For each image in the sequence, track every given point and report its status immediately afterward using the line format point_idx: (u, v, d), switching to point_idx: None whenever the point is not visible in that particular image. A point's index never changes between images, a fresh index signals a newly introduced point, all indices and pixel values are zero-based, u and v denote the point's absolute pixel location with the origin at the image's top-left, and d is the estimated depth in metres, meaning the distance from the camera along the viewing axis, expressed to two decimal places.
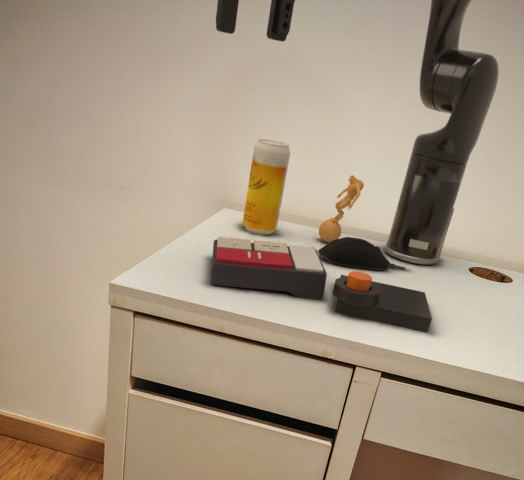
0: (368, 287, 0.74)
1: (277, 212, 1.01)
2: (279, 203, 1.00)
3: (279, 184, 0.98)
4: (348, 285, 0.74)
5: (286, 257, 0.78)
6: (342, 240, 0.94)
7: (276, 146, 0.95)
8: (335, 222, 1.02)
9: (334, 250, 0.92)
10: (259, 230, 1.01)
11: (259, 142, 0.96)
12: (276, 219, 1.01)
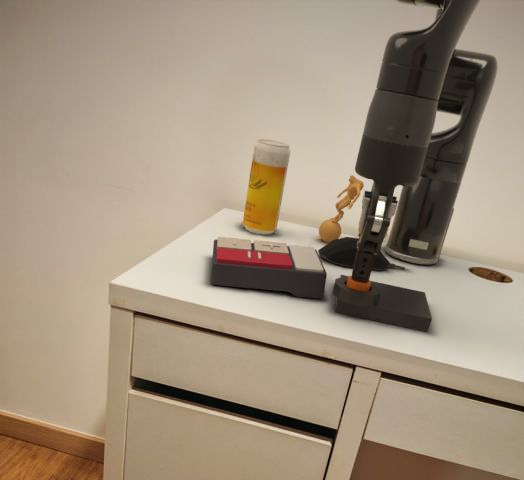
0: None
1: (277, 212, 1.01)
2: (279, 203, 1.00)
3: (279, 184, 0.98)
4: None
5: (286, 257, 0.78)
6: (342, 240, 0.94)
7: (276, 146, 0.95)
8: (335, 222, 1.02)
9: (334, 250, 0.92)
10: (259, 230, 1.01)
11: (259, 142, 0.96)
12: (276, 219, 1.01)
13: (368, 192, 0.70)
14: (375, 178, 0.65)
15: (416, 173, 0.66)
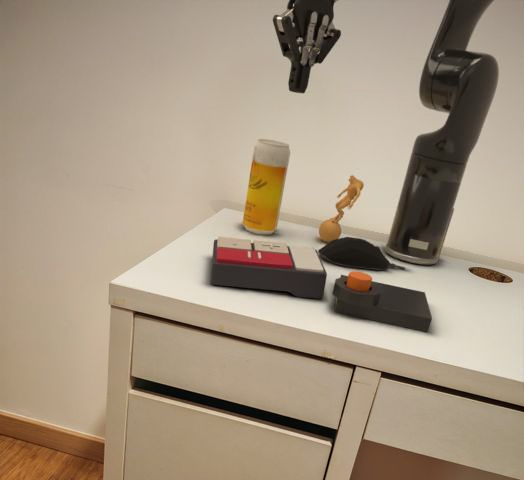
0: (368, 287, 0.74)
1: (277, 212, 1.01)
2: (279, 203, 1.00)
3: (279, 184, 0.98)
4: (348, 285, 0.74)
5: (286, 257, 0.78)
6: (342, 240, 0.94)
7: (276, 146, 0.95)
8: (335, 222, 1.02)
9: (334, 250, 0.92)
10: (259, 230, 1.01)
11: (259, 142, 0.96)
12: (276, 219, 1.01)
13: None
14: None
15: None
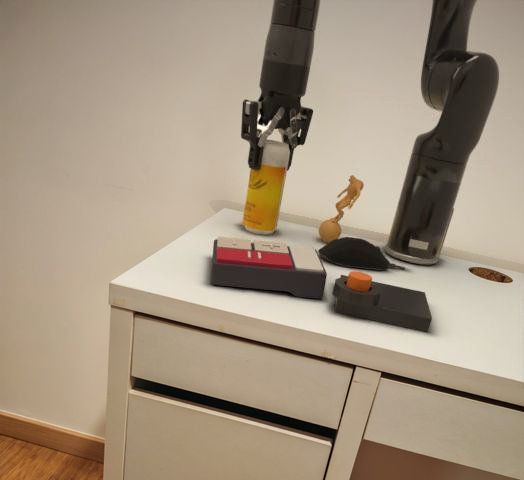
0: (368, 287, 0.74)
1: (277, 212, 1.01)
2: (279, 203, 1.00)
3: (279, 184, 0.98)
4: (348, 285, 0.74)
5: (286, 257, 0.78)
6: (342, 240, 0.94)
7: (276, 146, 0.95)
8: (335, 222, 1.02)
9: (334, 250, 0.92)
10: (259, 230, 1.01)
11: None
12: (276, 219, 1.01)
13: None
14: (260, 87, 0.92)
15: (286, 83, 0.90)
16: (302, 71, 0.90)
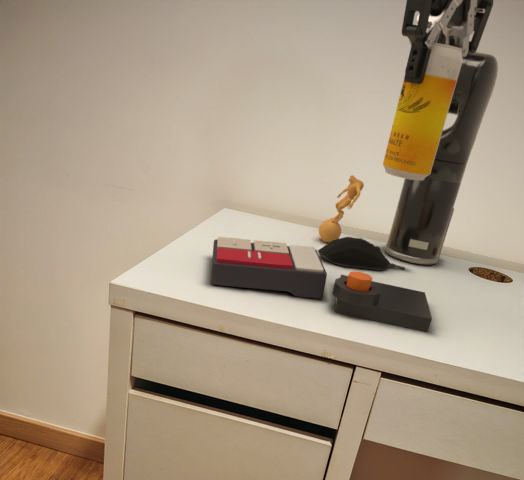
0: (368, 287, 0.74)
1: (436, 148, 0.72)
2: (440, 135, 0.71)
3: (445, 105, 0.69)
4: (348, 285, 0.74)
5: (286, 257, 0.78)
6: (342, 240, 0.94)
7: (449, 47, 0.66)
8: (335, 222, 1.02)
9: (334, 250, 0.92)
10: (411, 173, 0.72)
11: None
12: (433, 158, 0.72)
13: None
14: None
15: None
16: None
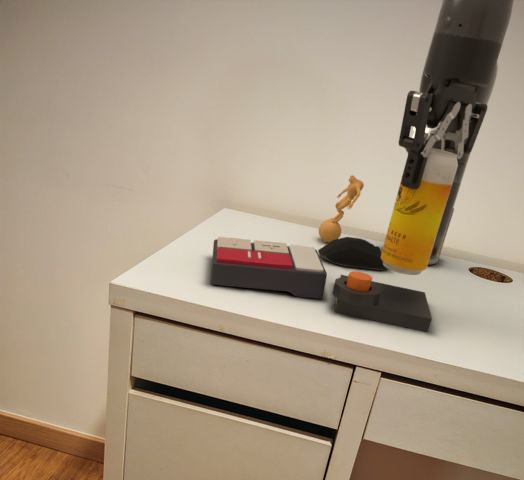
0: (368, 287, 0.74)
1: (432, 245, 0.74)
2: (436, 233, 0.74)
3: (441, 207, 0.71)
4: (348, 285, 0.74)
5: (286, 257, 0.78)
6: (342, 240, 0.94)
7: (444, 156, 0.68)
8: (335, 222, 1.02)
9: (334, 250, 0.92)
10: (408, 269, 0.74)
11: None
12: (430, 254, 0.75)
13: None
14: (429, 73, 0.65)
15: (473, 67, 0.63)
16: (495, 50, 0.63)
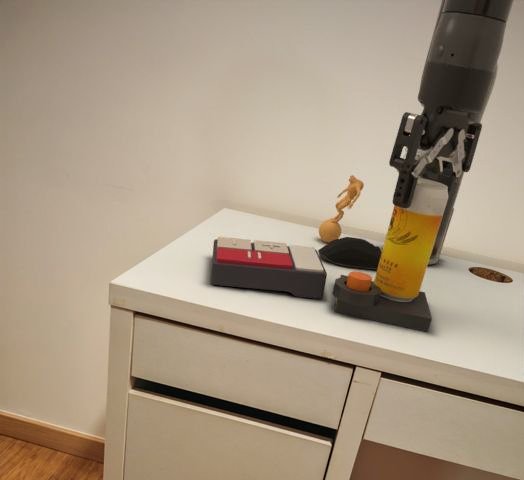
0: (368, 287, 0.74)
1: (424, 273, 0.76)
2: None
3: (432, 237, 0.73)
4: (348, 285, 0.74)
5: (286, 257, 0.78)
6: (342, 240, 0.94)
7: (435, 189, 0.70)
8: (335, 222, 1.02)
9: (334, 250, 0.92)
10: (400, 297, 0.76)
11: None
12: (421, 282, 0.76)
13: None
14: (423, 100, 0.67)
15: (465, 95, 0.64)
16: (487, 79, 0.64)
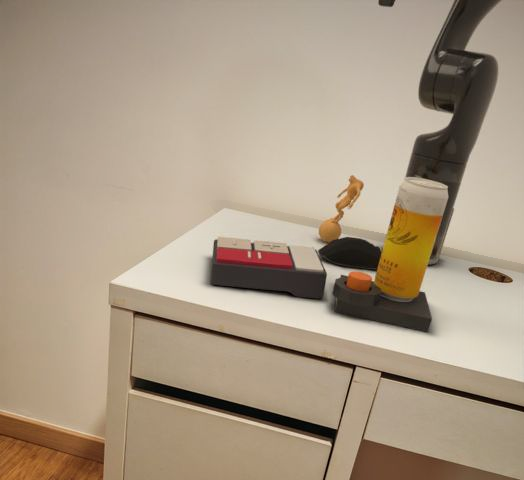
0: (368, 287, 0.74)
1: (424, 273, 0.76)
2: None
3: (432, 237, 0.73)
4: (348, 285, 0.74)
5: (286, 257, 0.78)
6: (342, 240, 0.94)
7: (435, 189, 0.70)
8: (335, 222, 1.02)
9: (334, 250, 0.92)
10: (400, 297, 0.76)
11: (409, 183, 0.71)
12: (421, 282, 0.76)
13: None
14: None
15: None
16: None
